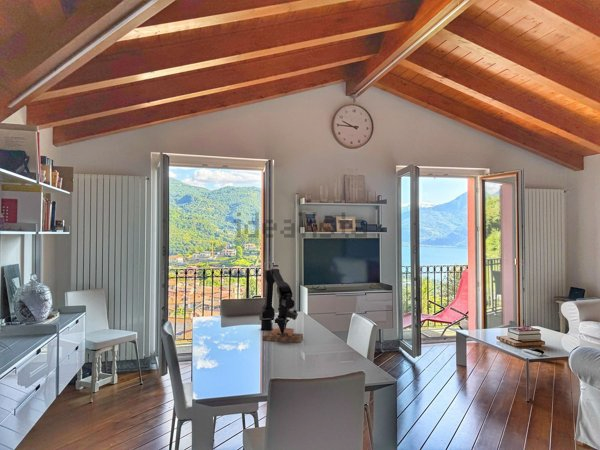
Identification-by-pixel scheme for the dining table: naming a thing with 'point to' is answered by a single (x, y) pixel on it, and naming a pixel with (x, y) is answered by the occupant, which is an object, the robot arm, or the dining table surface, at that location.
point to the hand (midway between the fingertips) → (283, 332)
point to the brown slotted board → (283, 337)
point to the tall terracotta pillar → (286, 330)
